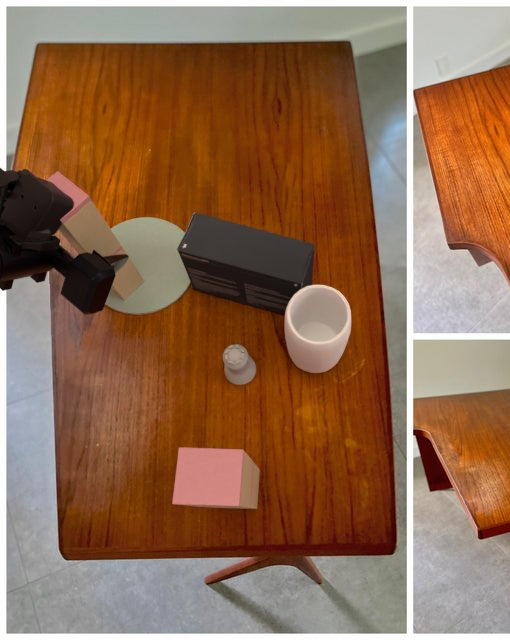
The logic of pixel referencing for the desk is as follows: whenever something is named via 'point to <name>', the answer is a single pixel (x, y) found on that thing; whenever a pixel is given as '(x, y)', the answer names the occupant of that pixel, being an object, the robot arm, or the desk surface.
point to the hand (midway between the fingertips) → (101, 237)
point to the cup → (317, 327)
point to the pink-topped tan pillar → (94, 235)
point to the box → (245, 262)
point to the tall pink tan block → (216, 478)
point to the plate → (151, 265)
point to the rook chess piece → (238, 365)
